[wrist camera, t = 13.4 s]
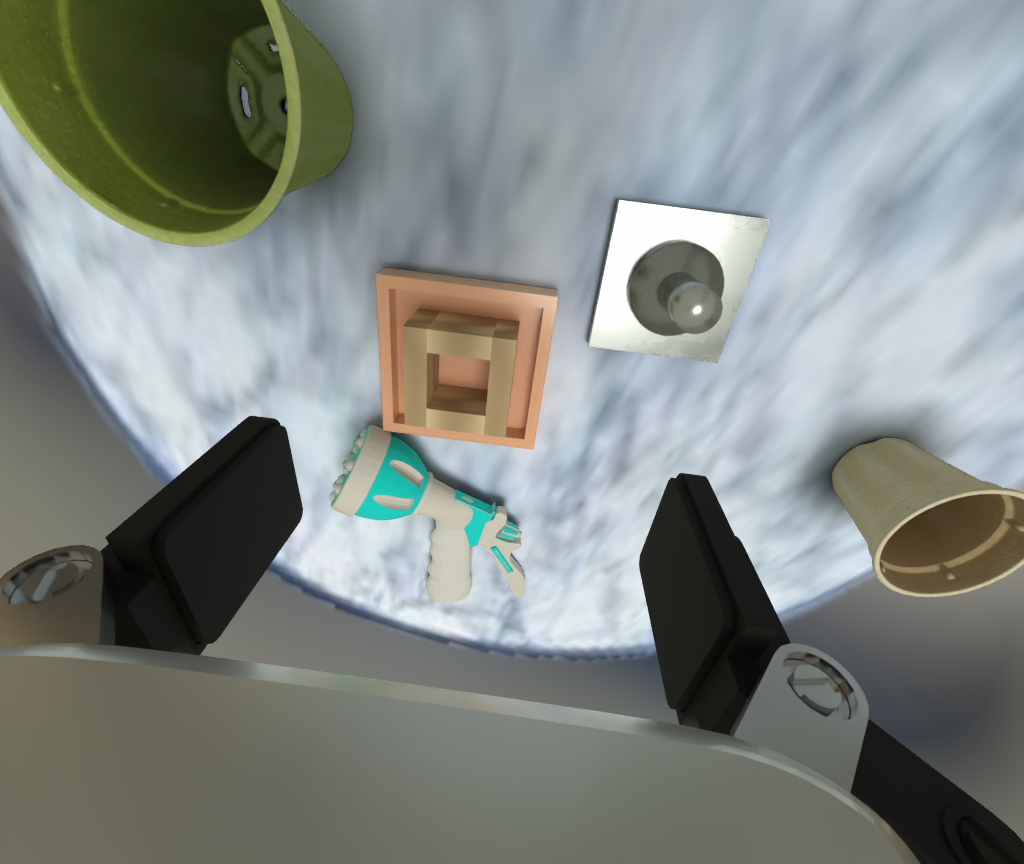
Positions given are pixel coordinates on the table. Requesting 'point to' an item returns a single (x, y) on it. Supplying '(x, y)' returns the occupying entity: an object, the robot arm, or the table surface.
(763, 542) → the table surface
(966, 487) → the flower pot
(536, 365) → the terracotta tray
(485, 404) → the wooden ring
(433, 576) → the garden hose nozzle
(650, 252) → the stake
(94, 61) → the plant pot
